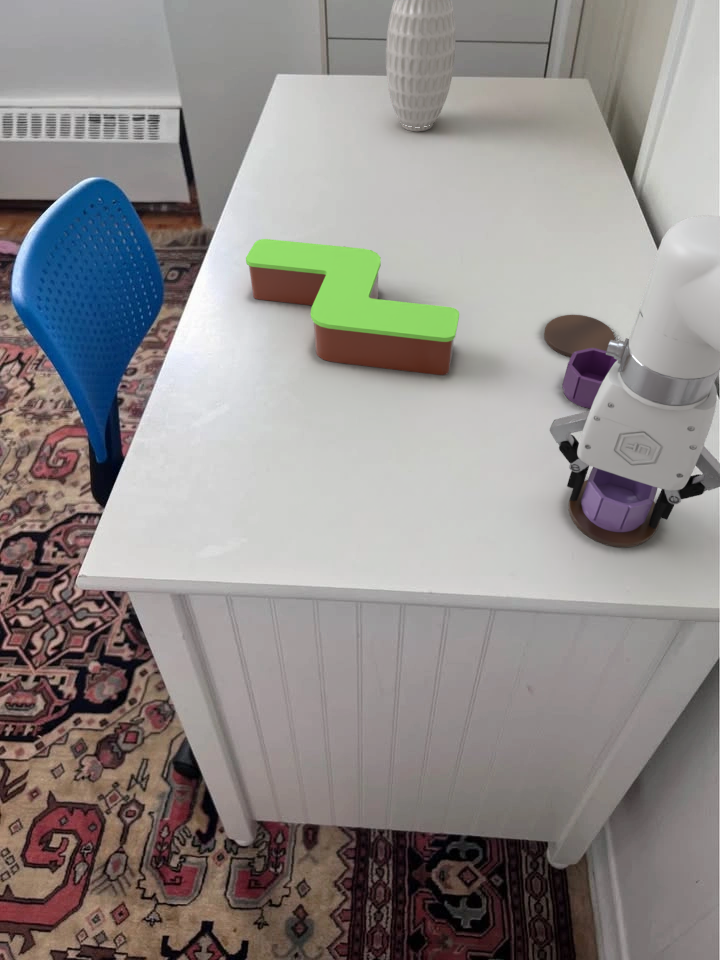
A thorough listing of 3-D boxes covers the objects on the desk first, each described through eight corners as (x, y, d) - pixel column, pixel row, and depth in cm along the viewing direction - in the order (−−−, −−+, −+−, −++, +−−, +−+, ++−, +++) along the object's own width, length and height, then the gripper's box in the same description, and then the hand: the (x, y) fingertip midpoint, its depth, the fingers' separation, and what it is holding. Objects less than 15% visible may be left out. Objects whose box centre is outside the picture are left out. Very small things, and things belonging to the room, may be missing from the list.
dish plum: (622, 383, 88) (630, 357, 85) (609, 415, 84) (618, 388, 81) (570, 369, 90) (577, 343, 87) (556, 399, 86) (563, 373, 83)
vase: (381, 137, 138) (383, -40, 118) (388, 111, 147) (391, -58, 126) (447, 140, 137) (461, -38, 116) (450, 114, 146) (464, -56, 125)
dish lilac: (651, 497, 75) (662, 471, 72) (637, 541, 71) (649, 515, 68) (590, 477, 77) (598, 451, 74) (574, 519, 73) (582, 493, 70)
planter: (465, 296, 101) (470, 259, 97) (450, 377, 89) (454, 339, 85) (262, 275, 106) (257, 238, 101) (220, 349, 93) (213, 311, 89)
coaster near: (665, 497, 75) (667, 493, 75) (648, 559, 70) (649, 556, 70) (581, 470, 78) (582, 466, 78) (558, 528, 73) (559, 524, 72)
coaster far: (620, 328, 96) (622, 324, 95) (604, 366, 90) (605, 363, 90) (554, 311, 99) (555, 308, 98) (535, 347, 93) (536, 344, 93)
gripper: (554, 365, 61) (521, 501, 74) (774, 427, 55) (697, 562, 68) (577, 318, 65) (542, 454, 78) (783, 371, 60) (709, 508, 73)
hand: (615, 504), depth 73 cm, fingers open, 7 cm apart
